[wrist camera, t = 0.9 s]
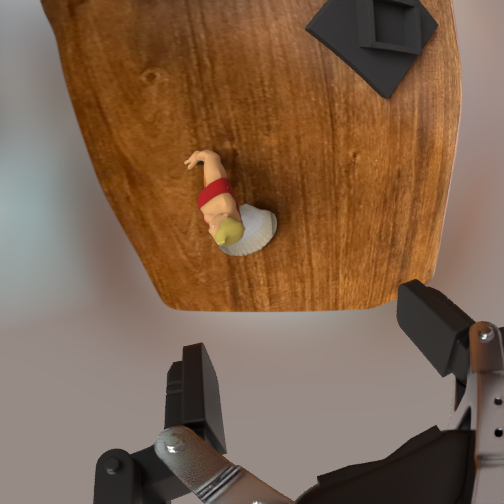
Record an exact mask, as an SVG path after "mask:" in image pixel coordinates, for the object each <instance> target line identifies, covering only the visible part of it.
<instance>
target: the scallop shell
mask: <svg viewBox="0 0 504 504" xmlns="http://www.w3.org/2000/svg"><path fill="white" fill-rule="evenodd" d="M239 210H240V214H241V220H242V221H243V224H244V227H245V228H246V229H245V231H244V236H243V237H242V238H241V239H240V240H239V241H238V242H237V243H235V244H233V245H229V246H221V245H218V246H219V247H220V249H221V250H222V251H223V252H224V253H226V254H228V255H232V256H234V255H235V256H242V255H248V254H252V253H253V252H257V251H258V250H260V249H262V248H263V247H264V246H266V244H267V243H268V242H270V239H271V238H272V237H273V235H274V234H275V231H276V228H277V219H276V217H275V214H273V213H272V212H270V211H267V210H263V209H257V208H256V207H253V206H250V205H248V204H242V205H240V206H239Z"/></svg>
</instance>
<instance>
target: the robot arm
mask: <svg viewBox="0 0 504 504" xmlns="http://www.w3.org/2000/svg"><path fill="white" fill-rule="evenodd" d="M397 321H398V324H399V326H400V327H401V329H402V330H403V331H404V332H405V333H406V335H407V336H408V337H409V338H410V339H411V340H412V341H413V343H414V344H415V345H416V346H417V347H418V348H419V350H420V351H421V352H422V353H423V354H424V356H425V357H426V358H427V359H428V360H429V362H430V363H431V364H432V365H433V366H434V368H435V369H436V370H437V371H438V373H439V374H440V375H441V376H442V377H445V376H447V375H448V374H450V373H453V374H454V375H455V376H454V379H453V393H452V394H453V395H452V408H451V418H450V423H449V426H448V429H447V430H443V431H440V430H439V428H438V427H437V425H435V426H433V427H431V428H430V429H428V430H426V431H424V432H422V433H420V434H419V435H417V436H415V437H413V438H411V439H409V440H408V441H407V442H406V443H405V444H403V445H402V446H401V447H400V448H399V449H397V450H396V451H395V452H394V453H392V454H391V455H390V456H388V457H387V458H385V459H383V460H378V461H374V462H368V463H362V464H356V465H349V466H347V467H344V468H341V469H338V470H336V471H332V472H329V473H326V474H324V475H320V476H317V481H318V484H316V485H314V486H313V487H311V488H309V489H308V490H307V491H305V492H304V493H303V494H302V495H300V496H299V498H297V499H296V500H295V501H292V500H291V499H289V498H288V497H286V496H284V495H283V494H281V493H279V492H278V491H277V490H275V489H273V488H272V487H271V486H269V485H267V484H266V483H265V482H263V481H262V480H260V479H259V478H257V477H256V476H254V475H253V474H252V473H250V472H249V471H247V470H246V469H244V468H243V467H241V466H239V465H237V466H236V465H234V464H233V463H231V462H230V461H229V460H227V459H226V458H225V457H223V456H222V455H223V454H227V451H226V444H225V436H224V428H223V420H222V412H221V404H220V394H219V386H218V380H217V376H216V372H215V370H214V367H213V365H212V363H211V360H210V358H209V355H208V353H207V351H206V348H205V346H204V344H203V343H197V344H193V345H189V346H184V347H183V358H182V361H178V362H173V364H172V366H171V368H170V370H169V371H168V373H167V388H166V389H167V390H166V393H167V395H166V406H165V427H164V431H162V432H161V433H160V434H159V435H158V437H157V439H156V441H155V444H154V445H152V446H150V447H148V448H146V449H143V450H141V451H138V452H136V453H133V454H129V453H128V452H126V451H124V450H122V449H111V450H108V451H106V452H105V453H103V454H102V455H101V457H100V458H99V459H98V461H97V464H96V472H95V485H94V503H93V504H171V500H173V499H175V498H178V497H181V496H183V495H185V494H188V493H190V492H193V493H194V494H195V495H197V496H198V498H199V499H200V500H201V501H202V502H203V503H204V504H504V327H501V328H498V327H496V326H495V325H494V324H492V323H489V322H483V321H481V322H477V323H476V322H475V321H474V320H473V319H471V318H470V317H469V316H468V315H467V314H466V313H465V312H463V311H462V310H461V309H460V308H459V307H458V306H457V305H456V304H454V303H453V302H452V301H451V300H450V299H447V297H446V296H445V295H444V294H443V293H441V292H440V291H438V290H436V289H434V288H431V287H426V286H425V285H424V284H422V283H421V282H420V281H419V280H417V279H414V280H411V281H409V282H406V283H403V284H401V285H400V286H399V288H398V303H397Z"/></svg>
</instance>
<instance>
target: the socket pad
mask: <svg viewBox="0 0 504 504" xmlns="http://www.w3.org/2000/svg"><path fill="white" fill-rule="evenodd" d="M437 26H438V24H437V23H436V21H435V20H434V19H433V17H432V16H431V15H430V14H429V12H428V11H427V10H426V8H425V7H424V6H423V5H422V4H421V2H420V1H419V0H328V1H327V2H326V3H325V4H324V5H323V7H322V8H321V9H320V10H319V12H318V13H317V14H316V15H315V16H314V18H313V19H312V20H311V22H310V23H309V24H308V25H307V27H306V28H305V30H306V31H308V32H309V33H310V34H311V35H313V36H314V37H315V38H317V39H318V40H319V41H320V42H322V43H323V44H324V45H325V46H327V47H328V48H329V49H330V50H331V51H333V52H334V53H335V54H336V55H337V56H338V57H340V58H341V59H342V60H343V61H344V62H345V63H346V64H348V65H349V66H350V67H351V68H352V69H353V70H354V71H355V72H356V73H357V74H359V75H360V76H361V77H362V78H363V79H364V80H365V81H366V82H367V83H368V84H369V85H370V86H371V87H372V88H373V89H374V90H375V91H376V92H377V93H378V94H379V95H380V96H381V97H383V98H387V99H388V98H389V97H390V95H391V94H392V92H393V91H394V90H395V88H396V87H397V85H398V84H399V82H400V81H401V80H402V78H403V77H404V75H405V74H406V72H407V71H408V69H409V68H410V66H411V65H412V64H413V62H414V61H415V59H416V58H417V56H418V55H422V49H423V47H424V46H425V44H426V43H427V41H428V40H429V38H430V37H431V35H432V34H433V32H434V31H435V29H436V28H437Z"/></svg>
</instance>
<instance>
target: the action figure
mask: <svg viewBox="0 0 504 504" xmlns="http://www.w3.org/2000/svg"><path fill="white" fill-rule="evenodd" d="M188 163H191V164H190V165H189V166H188V169H191V168H192V167H193V166H194V165H195V164H204V188H203V189H202V191H201V193H200V195H199V197H198V208H199V209H200V210H201V211H202V214H203V220H204V222H205V223H206V224H207V225H208V226H210V229H209V233H210V234H211V235H212V236H213V238H214V240H215V241H216V243H217V244H218V245H221V246H229V245H233V244H235V243H237V242H238V241H239V240H240V239H241V238H242V237H243V236H244V231H245V229H246V228H245V227H244V224H243V221H242V220H241V214H240V210H239V207H238V205H237V201H236V198H235V195H234V193H233V191H232V188H231V186H230V181H229V179H227V176H226V172H225V169H224V168H223V166H222V164H221V161H220V157H219V155H218V154H216V153H215V152H212V151H210V150H204V151H202V152H200V151H195V152H194V153H193V155H192V156H191V157H190V158H189V160H187V161H185V163H184V164H185V165H187V164H188Z"/></svg>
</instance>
